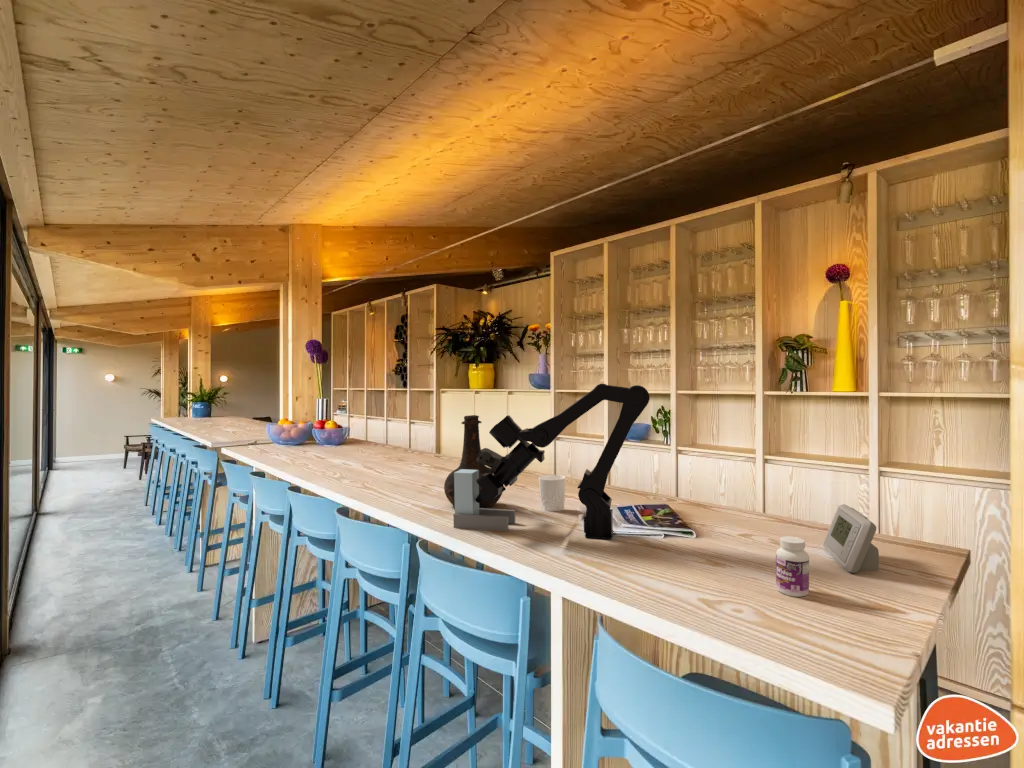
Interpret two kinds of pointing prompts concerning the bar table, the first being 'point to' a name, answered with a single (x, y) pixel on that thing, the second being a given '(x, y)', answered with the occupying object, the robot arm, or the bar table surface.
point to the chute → (486, 519)
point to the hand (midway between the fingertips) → (476, 501)
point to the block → (466, 491)
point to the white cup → (552, 492)
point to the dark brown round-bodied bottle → (470, 460)
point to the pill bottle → (792, 567)
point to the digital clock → (852, 540)
